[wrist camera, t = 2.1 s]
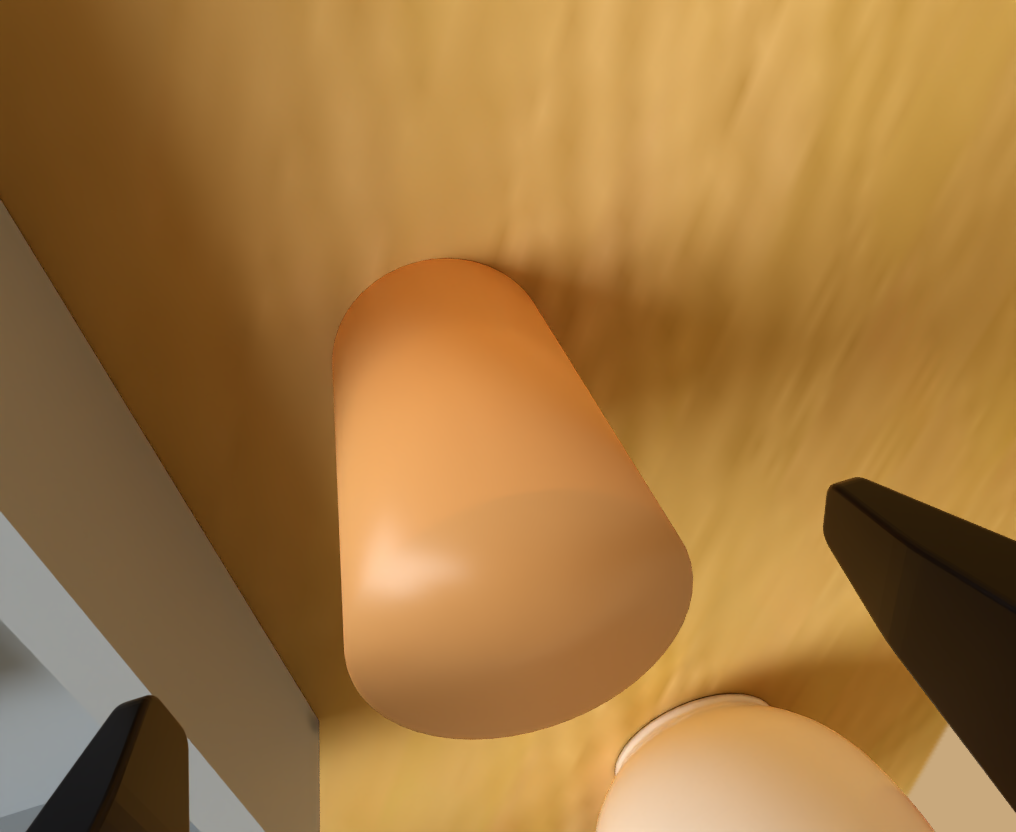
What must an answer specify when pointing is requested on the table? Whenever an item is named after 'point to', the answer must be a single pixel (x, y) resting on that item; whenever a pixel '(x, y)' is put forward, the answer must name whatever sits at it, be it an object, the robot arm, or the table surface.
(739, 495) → the table surface
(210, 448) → the table surface
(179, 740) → the robot arm
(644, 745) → the lidded jar
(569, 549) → the peach capsule shape
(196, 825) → the inlet box
